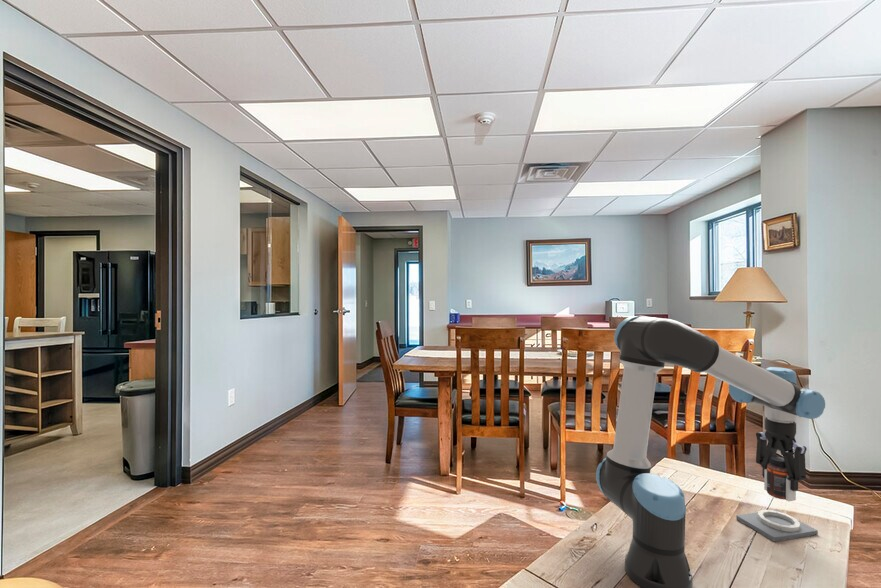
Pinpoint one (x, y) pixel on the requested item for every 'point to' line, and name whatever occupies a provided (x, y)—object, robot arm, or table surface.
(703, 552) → the table surface
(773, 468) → the supplement bottle
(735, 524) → the table surface
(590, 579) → the table surface
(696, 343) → the robot arm
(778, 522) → the hub board
